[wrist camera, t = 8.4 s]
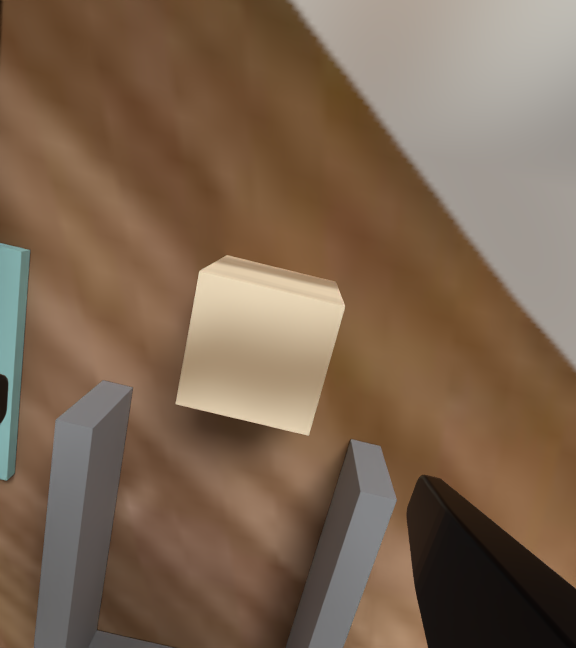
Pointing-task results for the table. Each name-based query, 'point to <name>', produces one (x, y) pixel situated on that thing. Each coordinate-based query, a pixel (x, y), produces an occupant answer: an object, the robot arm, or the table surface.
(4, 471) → the mat
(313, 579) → the grey u-shaped frame
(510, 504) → the table surface
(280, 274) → the wooden block
